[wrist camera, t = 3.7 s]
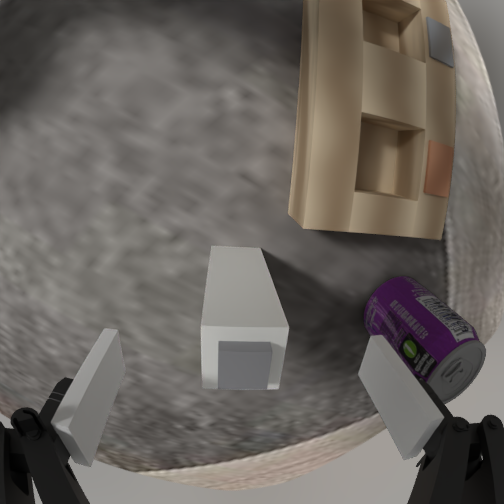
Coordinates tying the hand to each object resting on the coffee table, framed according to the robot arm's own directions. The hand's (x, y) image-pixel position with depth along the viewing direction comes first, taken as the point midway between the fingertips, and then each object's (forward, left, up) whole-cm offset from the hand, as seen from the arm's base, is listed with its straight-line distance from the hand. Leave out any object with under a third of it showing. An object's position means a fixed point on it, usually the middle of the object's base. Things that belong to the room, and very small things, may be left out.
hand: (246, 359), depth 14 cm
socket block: (+10, +16, -12) cm, 22 cm away
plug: (0, 0, -12) cm, 12 cm away
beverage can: (+16, -3, -12) cm, 20 cm away
